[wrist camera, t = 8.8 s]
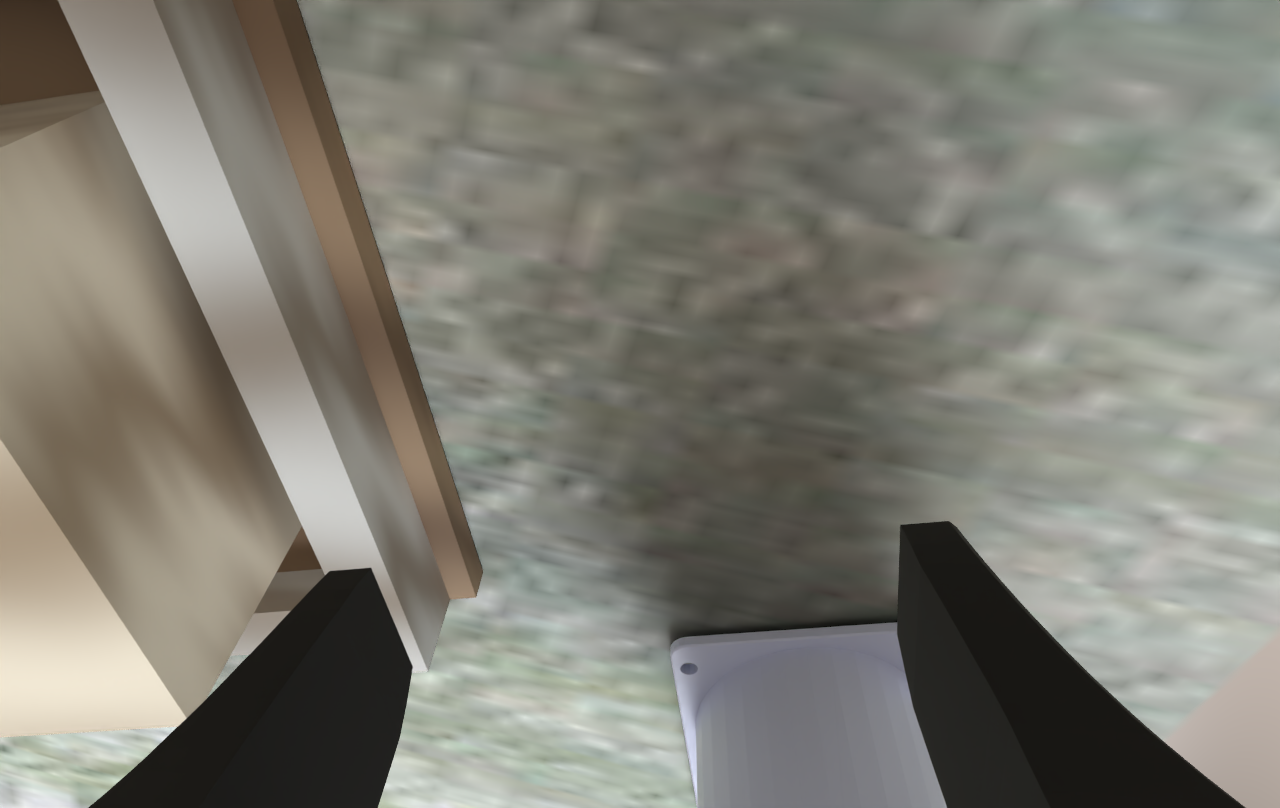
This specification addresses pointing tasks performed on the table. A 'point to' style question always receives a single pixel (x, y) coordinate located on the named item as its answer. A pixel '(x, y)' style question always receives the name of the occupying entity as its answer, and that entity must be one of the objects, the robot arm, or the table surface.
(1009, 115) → the table surface
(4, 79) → the track board
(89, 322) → the door panel
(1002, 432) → the table surface
